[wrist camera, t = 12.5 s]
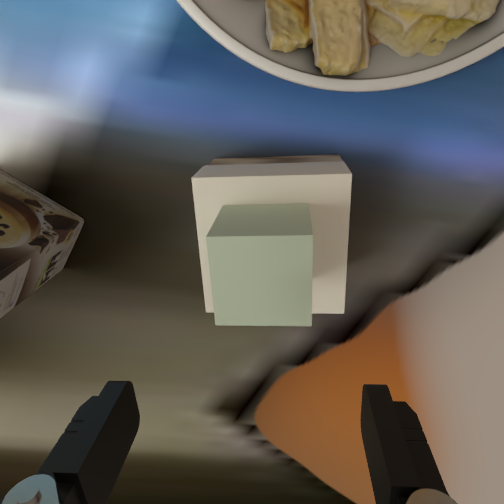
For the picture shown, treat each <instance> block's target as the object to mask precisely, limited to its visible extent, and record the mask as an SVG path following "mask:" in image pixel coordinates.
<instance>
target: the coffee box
mask: <svg viewBox="0 0 504 504" xmlns="http://www.w3.org/2000/svg"><path fill="white" fill-rule="evenodd" d="M83 224H84V220H83V218H81V217H80V216H78V215H77V214H75V213H73V212H71V211H70V210H68V209H66V208H64V207H63V206H61V205H59V204H58V203H56V202H54V201H52V200H51V199H49V198H47V197H46V196H44V195H42V194H40V193H39V192H37V191H35V190H34V189H32V188H30V187H28V186H27V185H25V184H23V183H22V182H20V181H18V180H17V179H15V178H13V177H11V176H10V175H8V174H6V173H5V172H3V171H1V170H0V318H1V317H2V316H4V315H5V314H6V313H8V312H9V311H10V310H11V309H13V308H14V307H15V306H16V305H18V304H19V303H20V302H22V301H23V300H24V299H25V298H27V297H28V296H29V295H30V294H32V293H33V292H34V291H36V290H37V289H38V288H39V287H41V286H42V285H43V284H44V283H46V282H47V281H48V280H50V279H51V278H52V277H53V276H55V275H56V274H57V273H58V272H60V271H61V270H62V269H63V267H64V265H65V263H66V261H67V259H68V257H69V255H70V253H71V250H72V248H73V246H74V244H75V242H76V240H77V237H78V235H79V233H80V231H81V229H82V226H83Z"/></svg>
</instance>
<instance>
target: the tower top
mask: <svg viewBox="0 0 504 504" xmlns="http://www.w3.org/2000/svg"><path fill="white" fill-rule="evenodd" d="M191 179H192V188H193V198H194V207H195V216H196V225H197V234H198V243H199V252H200V262H201V271H202V280H203V289H204V298H205V307H206V312H214V307H213V297H212V288H211V279H210V270H209V260H208V251H207V242H206V236H207V234H208V232H209V230H210V228H211V226H212V225H213V223H214V221H215V219H216V217H217V215H218V213H219V211H220V210H221V208H222V206H223V205H256V204H298V203H308V204H309V211H310V218H311V225H312V232H313V271H312V313H327V314H344V307H345V289H346V272H347V254H348V237H349V219H350V202H351V184H352V173H351V171H350V170H349V168H348V167H347V165H346V164H345V162H344V161H339V162H305V163H271V164H237V165H204V166H203V167H202V168H201V169H200V170H199V171H198V172H197V173H196V174H195V175H194V176H193V177H192V178H191Z"/></svg>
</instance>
